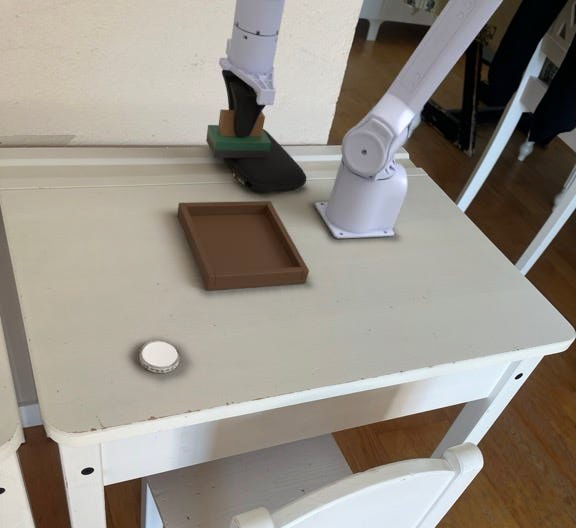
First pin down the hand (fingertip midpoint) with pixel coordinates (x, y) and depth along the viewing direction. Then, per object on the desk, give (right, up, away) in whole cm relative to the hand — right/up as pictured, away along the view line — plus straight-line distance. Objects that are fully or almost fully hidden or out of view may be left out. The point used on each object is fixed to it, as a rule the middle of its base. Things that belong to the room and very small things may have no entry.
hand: (239, 130), depth 87 cm
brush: (-1, -2, +2) cm, 3 cm away
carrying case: (+2, -4, +6) cm, 7 cm away
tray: (+1, -18, -8) cm, 20 cm away
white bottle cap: (-6, -33, -23) cm, 41 cm away
